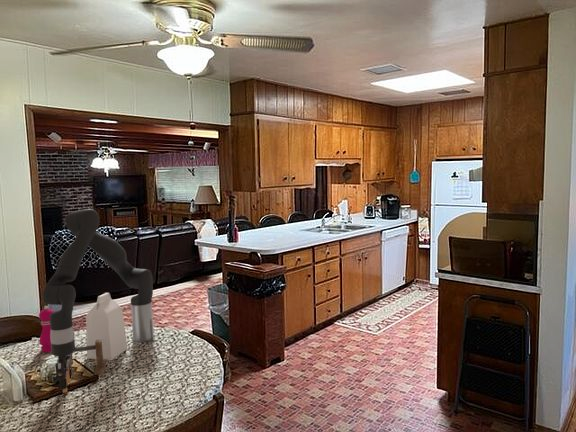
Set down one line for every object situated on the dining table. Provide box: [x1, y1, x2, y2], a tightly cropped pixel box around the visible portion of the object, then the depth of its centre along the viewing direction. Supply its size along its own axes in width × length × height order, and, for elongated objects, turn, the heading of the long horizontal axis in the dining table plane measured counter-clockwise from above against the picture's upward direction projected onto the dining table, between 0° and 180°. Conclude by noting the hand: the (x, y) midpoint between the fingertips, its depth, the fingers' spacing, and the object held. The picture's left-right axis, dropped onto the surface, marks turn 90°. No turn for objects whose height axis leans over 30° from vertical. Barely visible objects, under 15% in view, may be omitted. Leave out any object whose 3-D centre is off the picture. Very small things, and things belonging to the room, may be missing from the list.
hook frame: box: [73, 339, 107, 376], centre depth 170 cm, size 16×10×12 cm, turn 105°
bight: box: [61, 368, 71, 394], centre depth 157 cm, size 1×6×7 cm, turn 15°
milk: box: [85, 292, 129, 361], centre depth 188 cm, size 12×12×26 cm
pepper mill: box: [38, 305, 55, 353], centre depth 194 cm, size 7×7×20 cm
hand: (66, 383), depth 157 cm, fingers open, 7 cm apart
